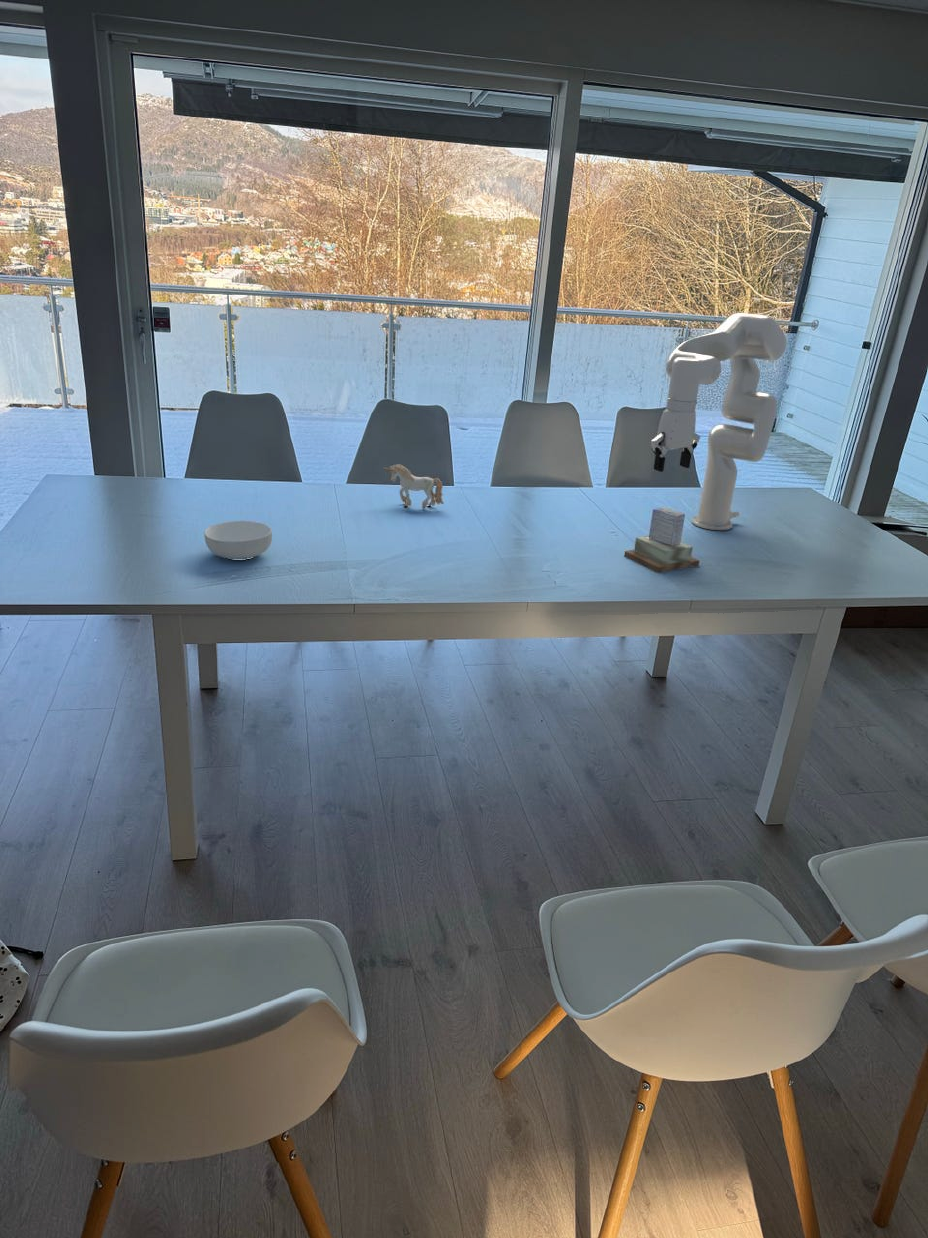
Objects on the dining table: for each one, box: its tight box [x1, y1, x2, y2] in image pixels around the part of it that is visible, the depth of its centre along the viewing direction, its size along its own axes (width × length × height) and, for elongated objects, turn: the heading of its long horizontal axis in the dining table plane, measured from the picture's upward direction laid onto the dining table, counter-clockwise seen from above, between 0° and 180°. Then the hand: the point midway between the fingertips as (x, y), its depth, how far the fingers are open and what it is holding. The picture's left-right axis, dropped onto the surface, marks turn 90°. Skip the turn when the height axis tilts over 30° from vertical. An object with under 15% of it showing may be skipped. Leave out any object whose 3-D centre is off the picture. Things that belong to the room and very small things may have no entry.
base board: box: [624, 535, 700, 574], centre depth 246 cm, size 15×14×6 cm
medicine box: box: [648, 506, 686, 546], centre depth 244 cm, size 8×4×9 cm, turn 43°
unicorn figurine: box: [383, 463, 445, 509], centre depth 277 cm, size 7×20×13 cm, turn 100°
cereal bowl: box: [203, 520, 273, 559], centre depth 229 cm, size 17×17×7 cm
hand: (671, 468), depth 242 cm, fingers open, 9 cm apart
